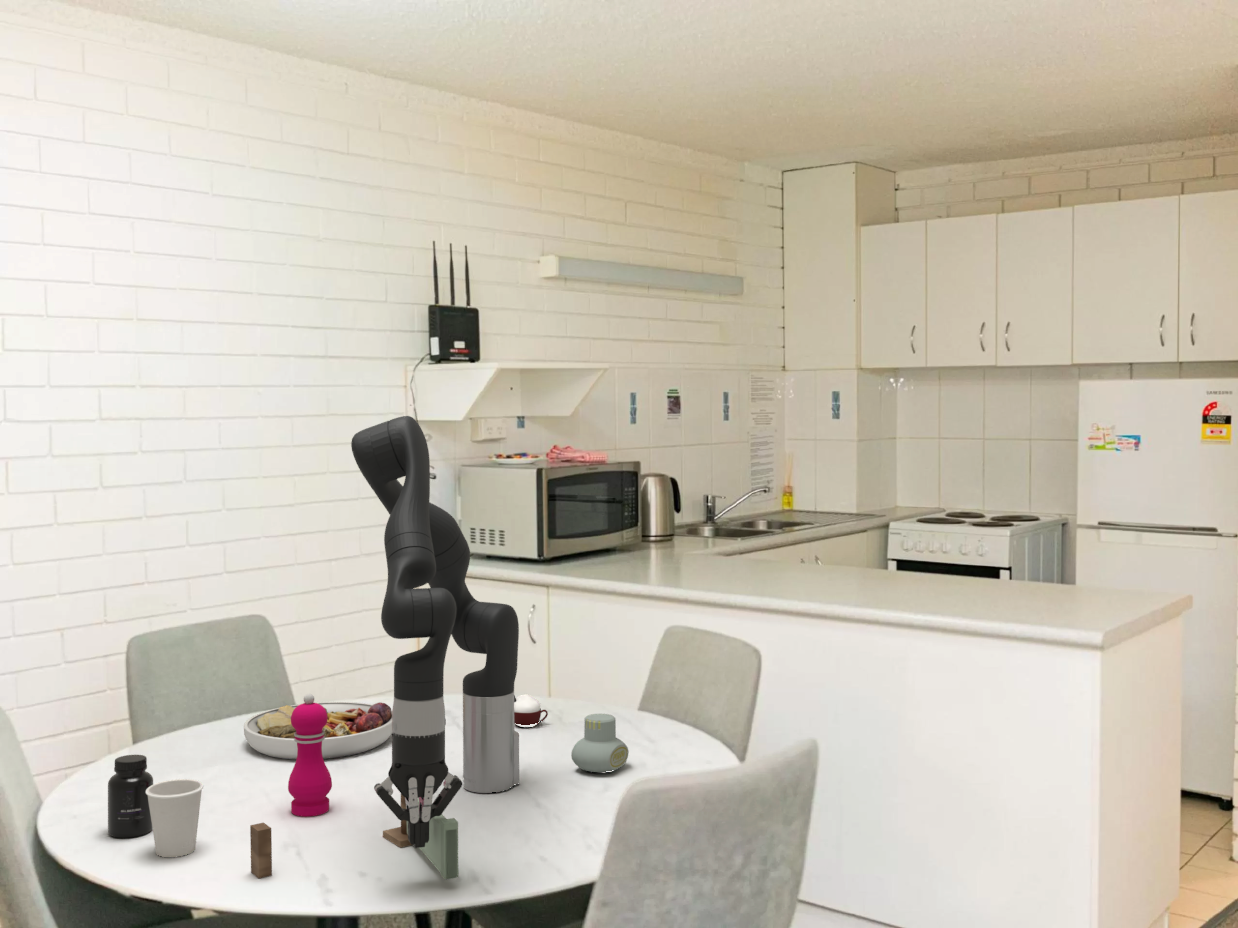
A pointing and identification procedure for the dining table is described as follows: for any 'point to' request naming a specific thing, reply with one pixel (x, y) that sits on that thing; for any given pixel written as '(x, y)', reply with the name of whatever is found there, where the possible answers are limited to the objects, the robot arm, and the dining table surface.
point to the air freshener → (600, 745)
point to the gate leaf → (442, 845)
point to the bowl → (344, 729)
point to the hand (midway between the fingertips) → (418, 845)
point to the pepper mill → (309, 761)
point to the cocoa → (527, 710)
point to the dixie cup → (175, 815)
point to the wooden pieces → (263, 844)
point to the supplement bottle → (129, 798)
